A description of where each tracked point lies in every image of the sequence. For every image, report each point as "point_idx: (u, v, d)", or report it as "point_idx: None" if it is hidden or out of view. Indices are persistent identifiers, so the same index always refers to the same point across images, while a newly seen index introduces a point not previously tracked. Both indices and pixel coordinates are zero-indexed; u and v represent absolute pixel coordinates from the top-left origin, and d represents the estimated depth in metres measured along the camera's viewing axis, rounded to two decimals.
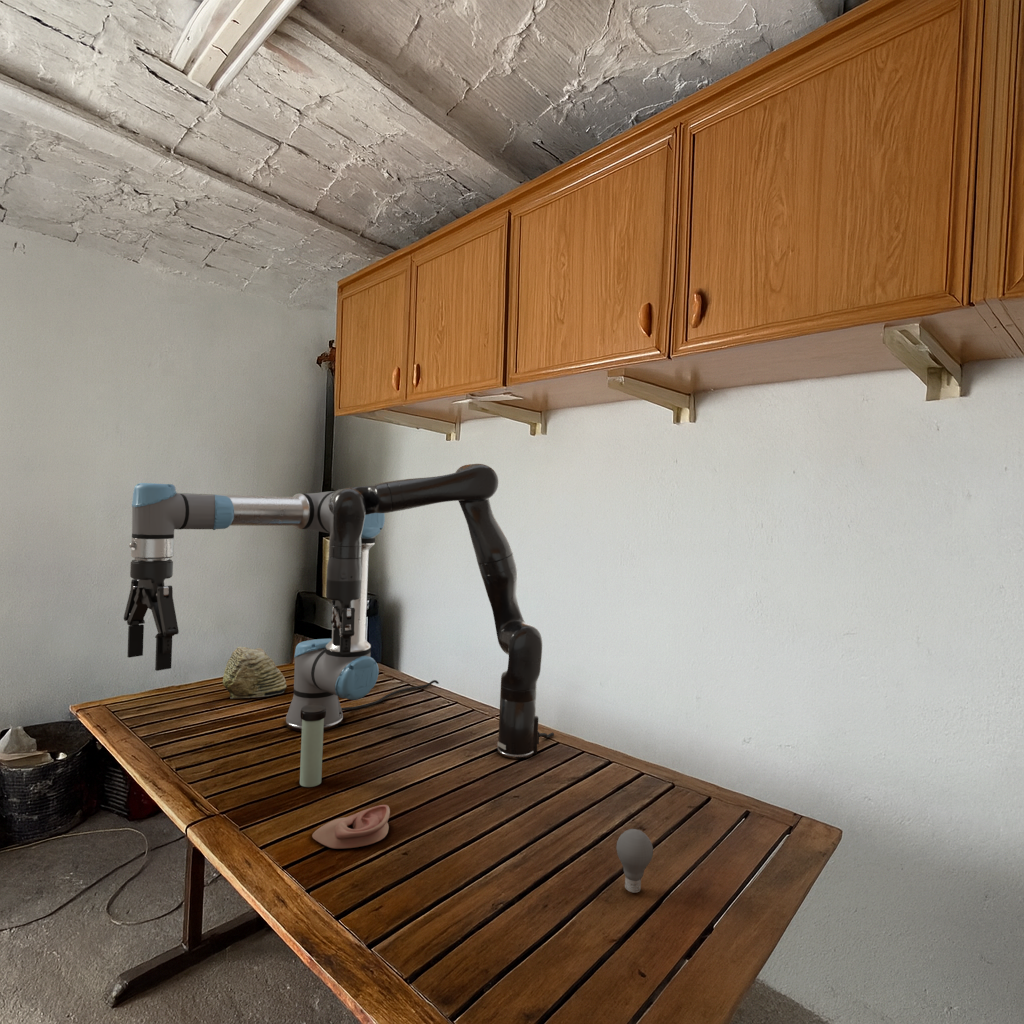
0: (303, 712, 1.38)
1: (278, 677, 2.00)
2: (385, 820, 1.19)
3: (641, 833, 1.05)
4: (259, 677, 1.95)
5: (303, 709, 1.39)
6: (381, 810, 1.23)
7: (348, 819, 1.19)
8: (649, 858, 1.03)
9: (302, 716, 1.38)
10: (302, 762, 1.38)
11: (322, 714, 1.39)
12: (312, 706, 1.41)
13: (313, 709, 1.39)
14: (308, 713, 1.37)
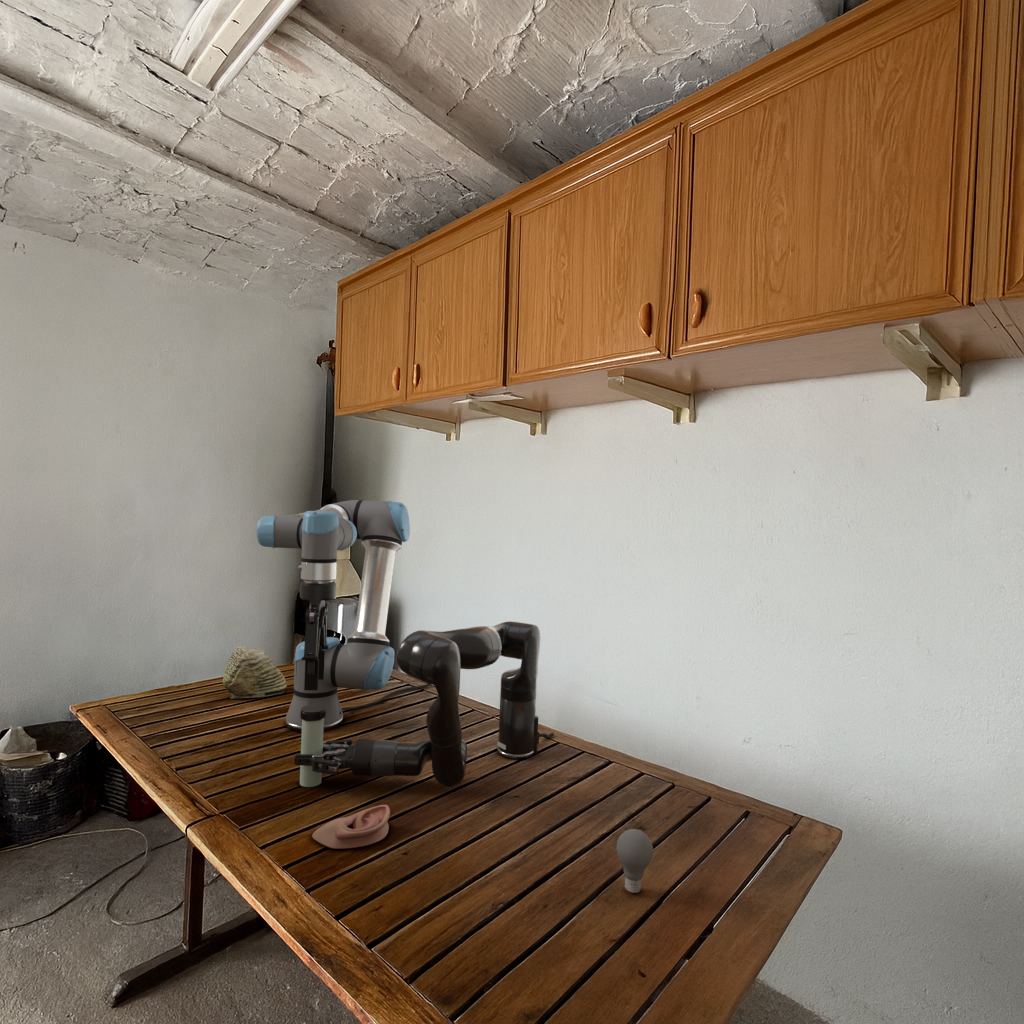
0: (303, 712, 1.38)
1: (278, 677, 2.00)
2: (385, 820, 1.19)
3: (641, 833, 1.05)
4: (259, 677, 1.95)
5: (303, 709, 1.39)
6: (381, 810, 1.23)
7: (348, 819, 1.19)
8: (649, 858, 1.03)
9: (302, 716, 1.38)
10: None
11: (322, 714, 1.39)
12: (312, 706, 1.41)
13: (313, 709, 1.39)
14: (308, 713, 1.37)
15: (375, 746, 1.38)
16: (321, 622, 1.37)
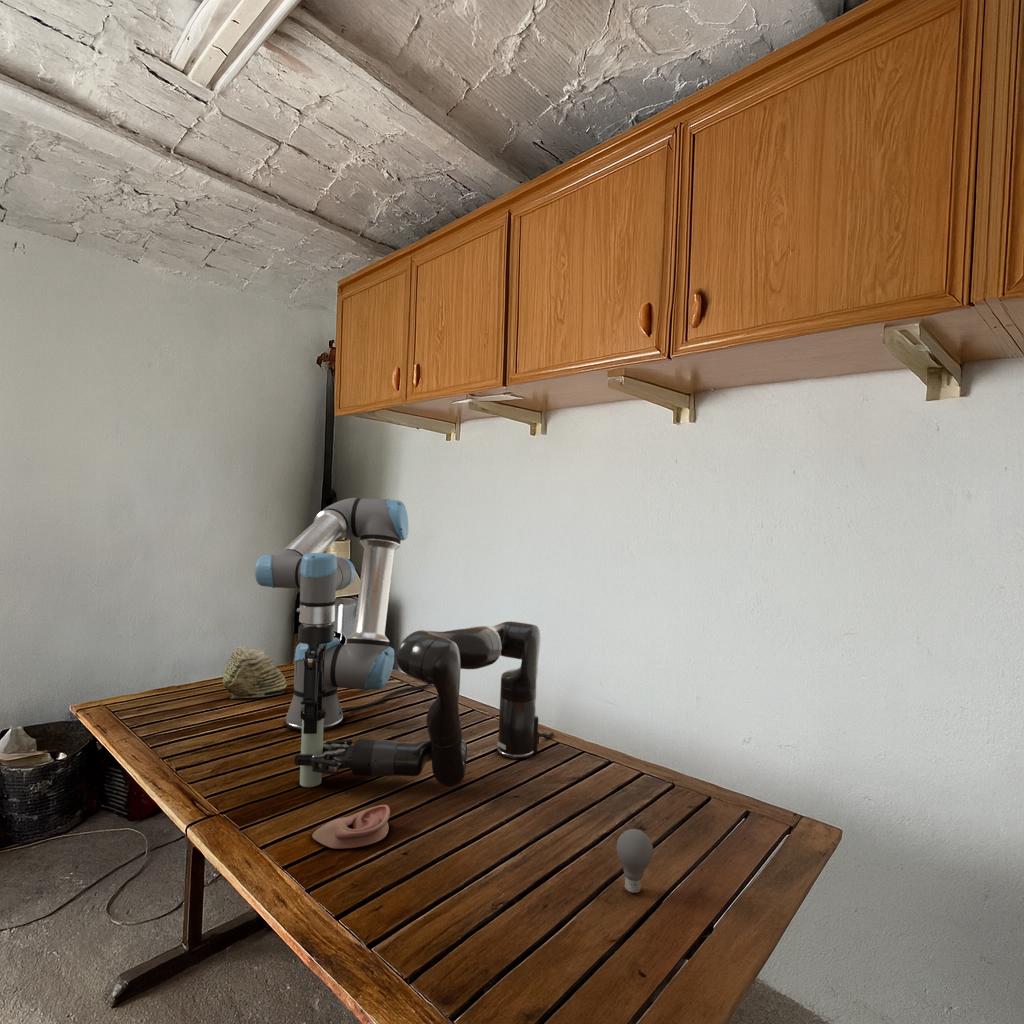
0: (303, 712, 1.38)
1: (278, 677, 2.00)
2: (385, 820, 1.19)
3: (641, 833, 1.05)
4: (259, 677, 1.95)
5: (303, 709, 1.39)
6: (381, 810, 1.23)
7: (348, 819, 1.19)
8: (649, 858, 1.03)
9: (302, 716, 1.38)
10: None
11: (322, 714, 1.39)
12: None
13: None
14: None
15: (375, 746, 1.38)
16: (320, 666, 1.37)
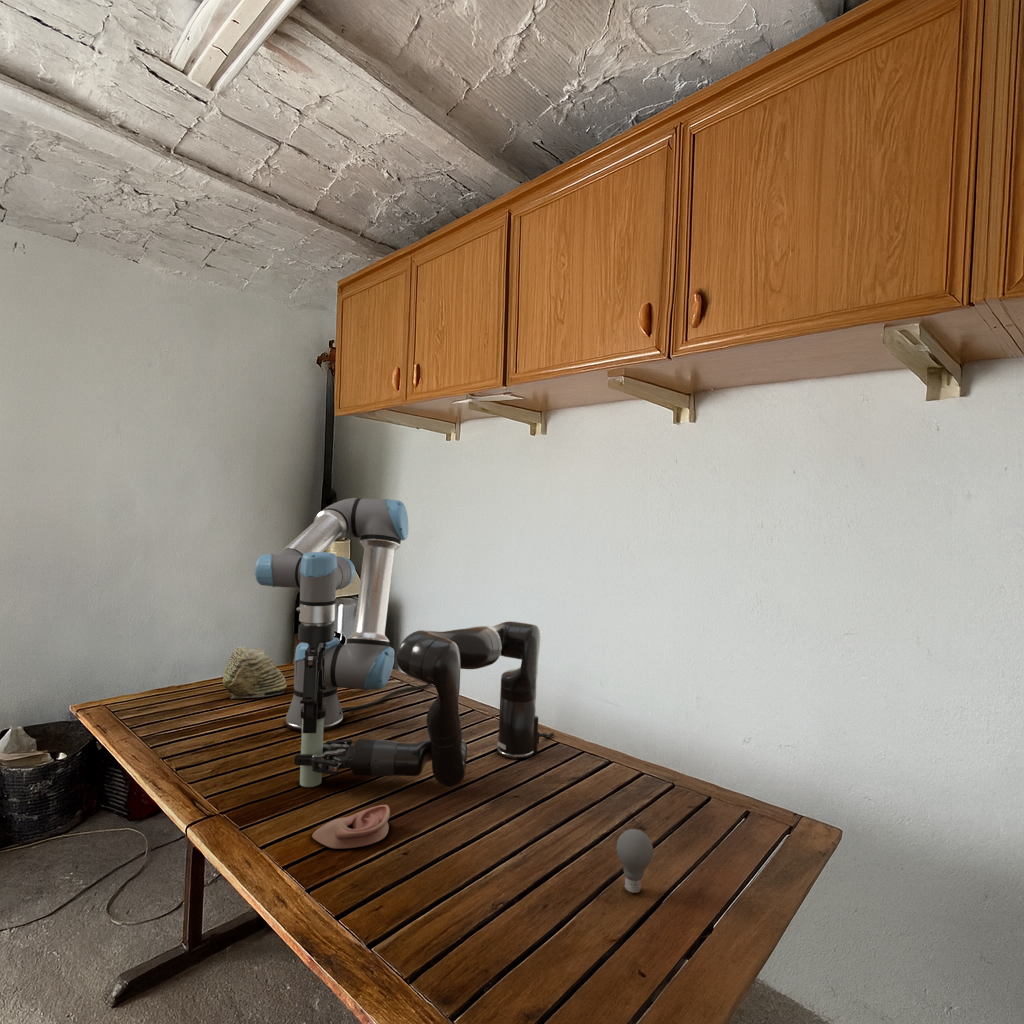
0: None
1: (278, 677, 2.00)
2: (385, 820, 1.19)
3: (641, 833, 1.05)
4: (259, 677, 1.95)
5: None
6: (381, 810, 1.23)
7: (348, 819, 1.19)
8: (649, 858, 1.03)
9: None
10: None
11: None
12: None
13: (317, 707, 1.40)
14: (321, 711, 1.39)
15: (375, 746, 1.38)
16: (320, 664, 1.37)
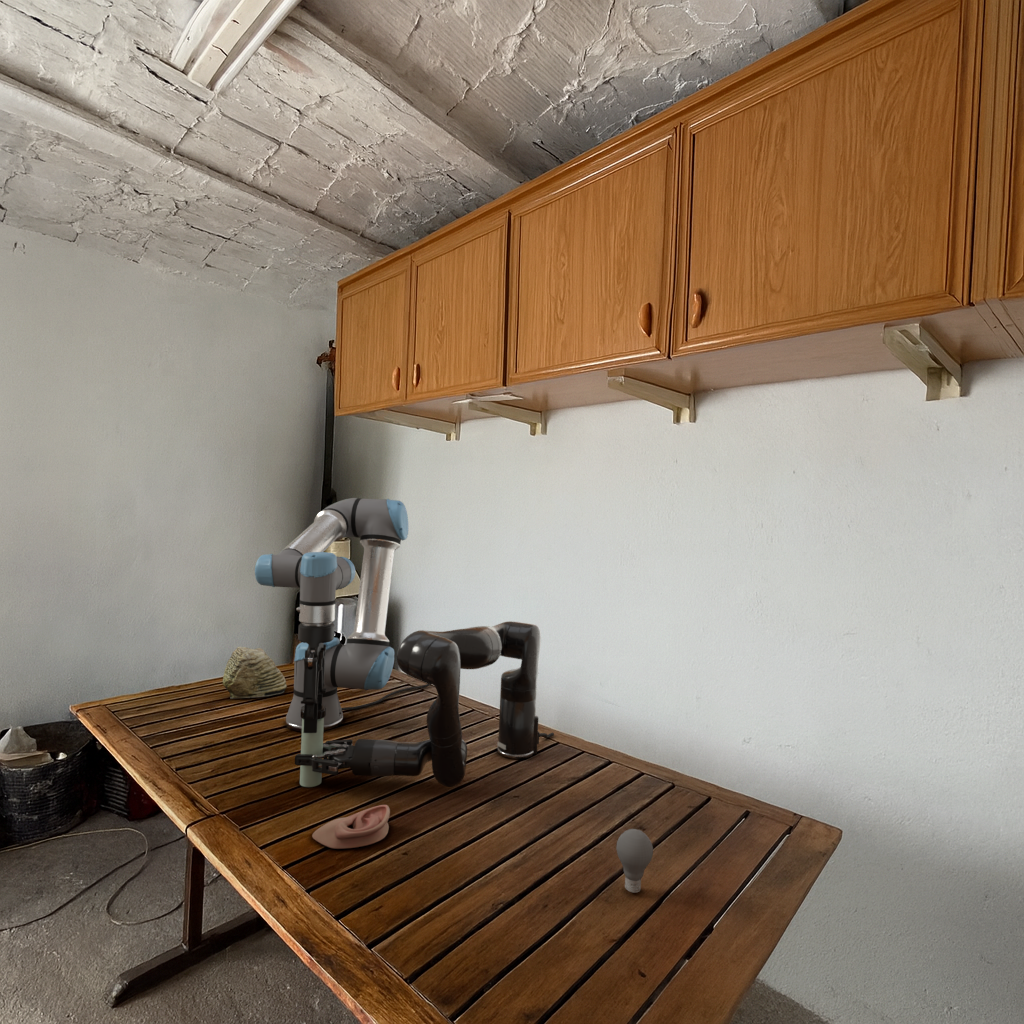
0: None
1: (278, 677, 2.00)
2: (385, 820, 1.19)
3: (641, 833, 1.05)
4: (259, 677, 1.95)
5: None
6: (381, 810, 1.23)
7: (348, 819, 1.19)
8: (649, 858, 1.03)
9: None
10: None
11: None
12: None
13: None
14: (321, 711, 1.39)
15: (375, 746, 1.38)
16: (320, 665, 1.37)
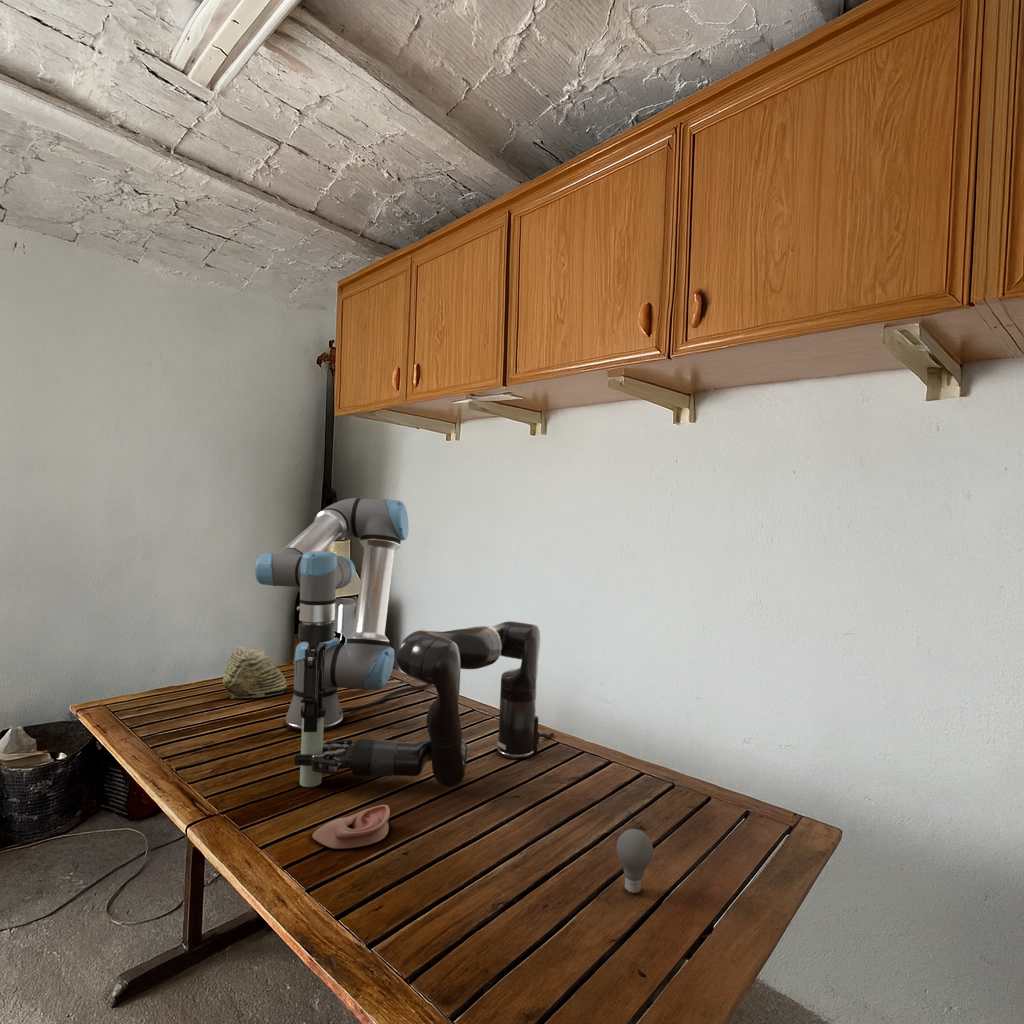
0: (325, 707, 1.40)
1: (278, 677, 2.00)
2: (385, 820, 1.19)
3: (641, 833, 1.05)
4: (259, 677, 1.95)
5: (321, 707, 1.39)
6: (381, 810, 1.23)
7: (348, 819, 1.19)
8: (649, 858, 1.03)
9: (324, 712, 1.40)
10: None
11: None
12: None
13: None
14: None
15: (375, 746, 1.38)
16: (320, 664, 1.37)
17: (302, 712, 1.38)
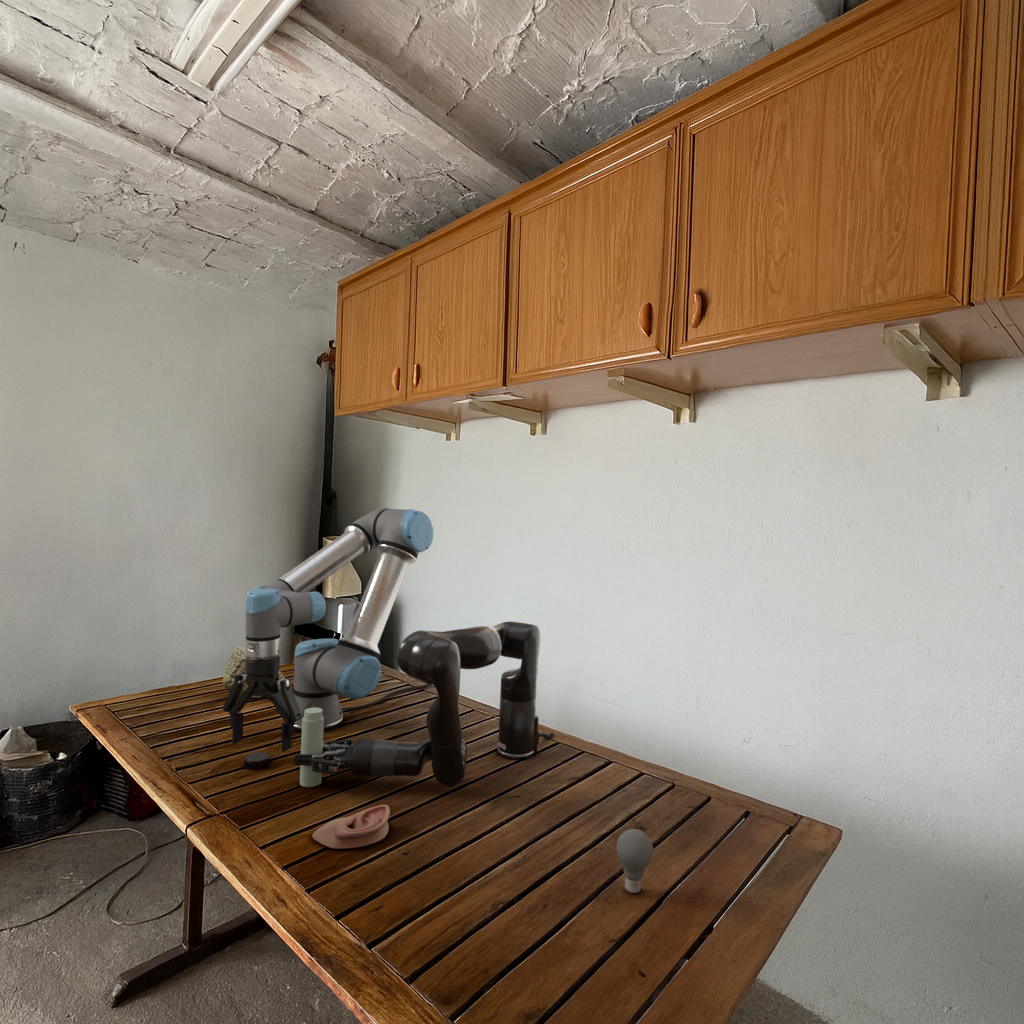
0: None
1: None
2: (385, 820, 1.19)
3: (641, 833, 1.05)
4: None
5: (266, 754, 1.49)
6: (381, 810, 1.23)
7: (348, 819, 1.19)
8: (649, 858, 1.03)
9: None
10: None
11: None
12: (259, 758, 1.47)
13: (256, 755, 1.49)
14: None
15: (375, 746, 1.38)
16: (278, 689, 1.49)
17: (257, 764, 1.46)
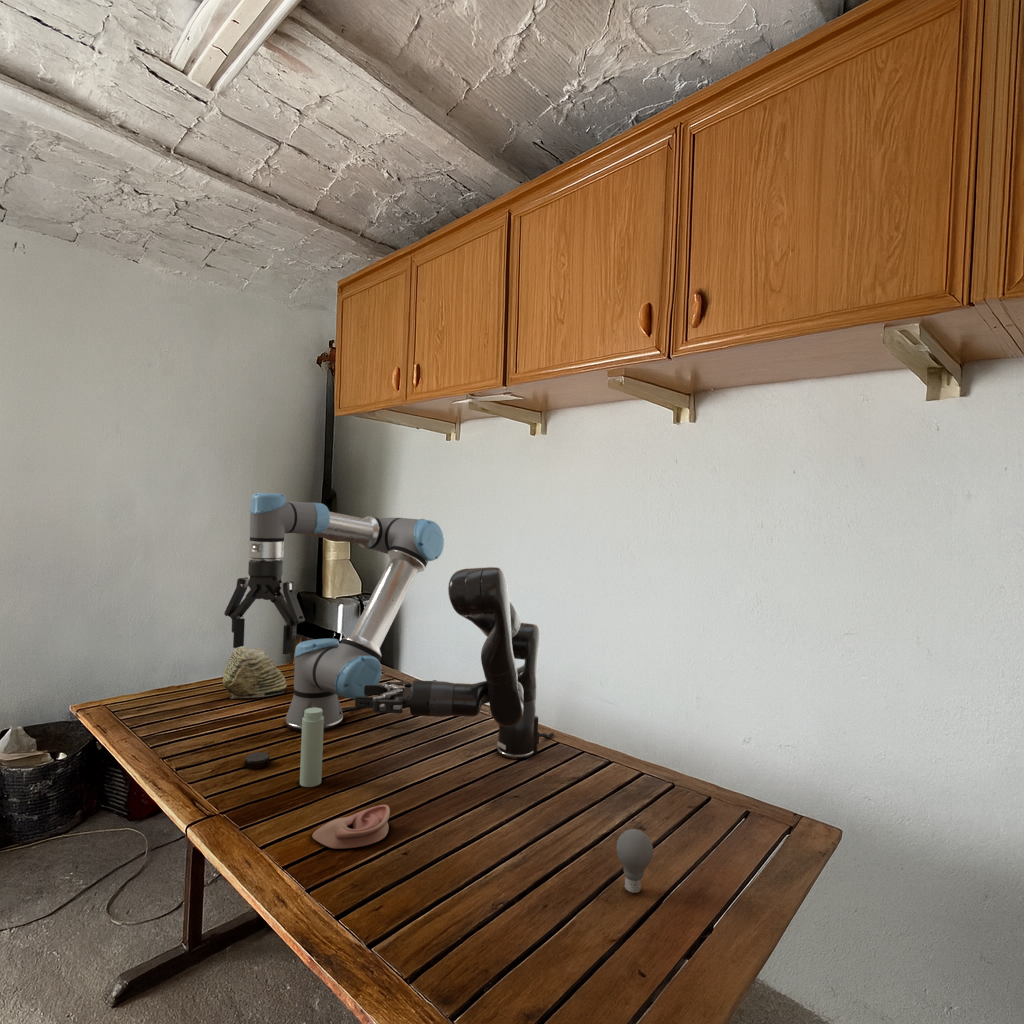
0: None
1: (278, 677, 2.00)
2: (385, 820, 1.19)
3: (641, 833, 1.05)
4: (259, 677, 1.95)
5: (266, 754, 1.49)
6: (381, 810, 1.23)
7: (348, 819, 1.19)
8: (649, 858, 1.03)
9: None
10: (302, 762, 1.38)
11: None
12: (259, 758, 1.47)
13: (256, 755, 1.49)
14: None
15: (433, 686, 1.38)
16: (281, 593, 1.48)
17: (257, 764, 1.46)
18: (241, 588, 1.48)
